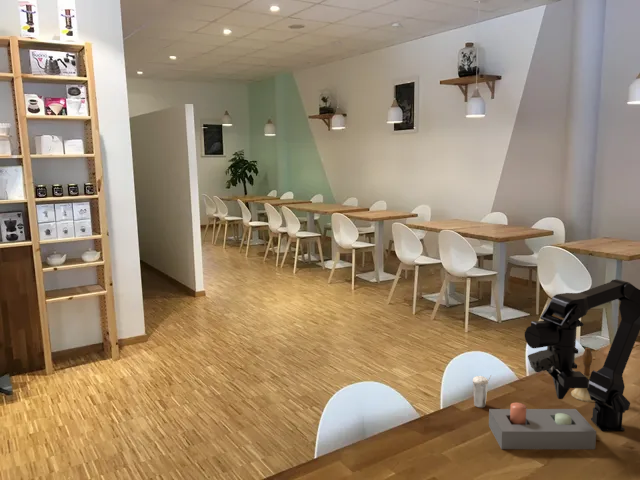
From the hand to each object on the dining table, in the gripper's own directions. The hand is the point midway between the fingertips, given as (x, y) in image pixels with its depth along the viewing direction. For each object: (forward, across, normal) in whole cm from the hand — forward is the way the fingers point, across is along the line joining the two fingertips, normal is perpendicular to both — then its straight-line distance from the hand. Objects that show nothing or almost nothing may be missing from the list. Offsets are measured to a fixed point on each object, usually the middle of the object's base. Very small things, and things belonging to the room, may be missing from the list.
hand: (559, 398), depth 141 cm
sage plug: (+10, 0, +1) cm, 10 cm away
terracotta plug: (+7, 0, -11) cm, 13 cm away
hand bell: (+11, -24, +18) cm, 32 cm away
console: (+11, 0, -5) cm, 12 cm away
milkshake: (+11, -18, -16) cm, 27 cm away
